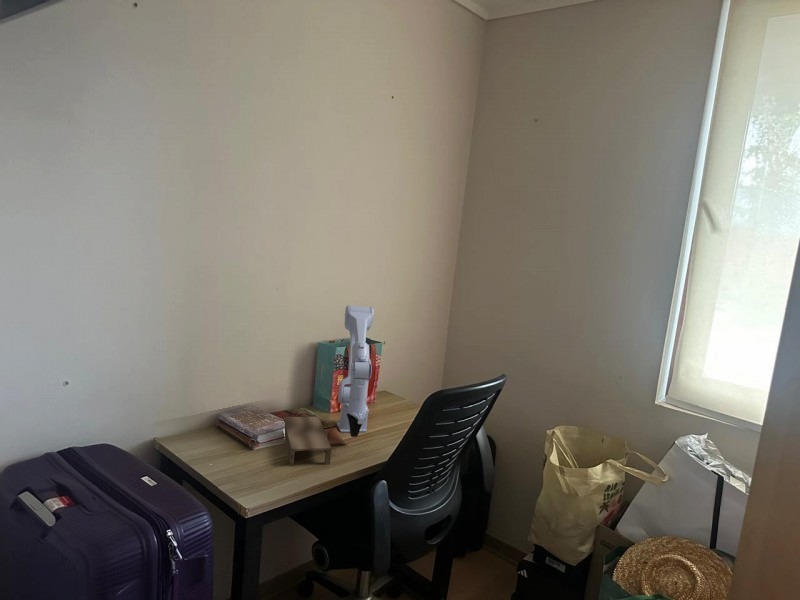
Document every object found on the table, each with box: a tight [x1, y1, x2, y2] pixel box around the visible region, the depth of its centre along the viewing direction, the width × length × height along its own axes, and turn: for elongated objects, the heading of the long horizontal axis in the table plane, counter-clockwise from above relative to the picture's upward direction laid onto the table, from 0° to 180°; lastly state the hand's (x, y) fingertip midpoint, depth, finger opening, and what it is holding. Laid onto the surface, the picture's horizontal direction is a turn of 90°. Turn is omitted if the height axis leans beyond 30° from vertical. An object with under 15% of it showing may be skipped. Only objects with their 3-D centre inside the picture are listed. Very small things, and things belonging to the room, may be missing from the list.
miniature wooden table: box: [282, 416, 332, 467], centre depth 177 cm, size 12×25×5 cm, turn 18°
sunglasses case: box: [298, 426, 347, 453], centre depth 181 cm, size 18×7×7 cm, turn 128°
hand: (353, 436), depth 182 cm, fingers closed
